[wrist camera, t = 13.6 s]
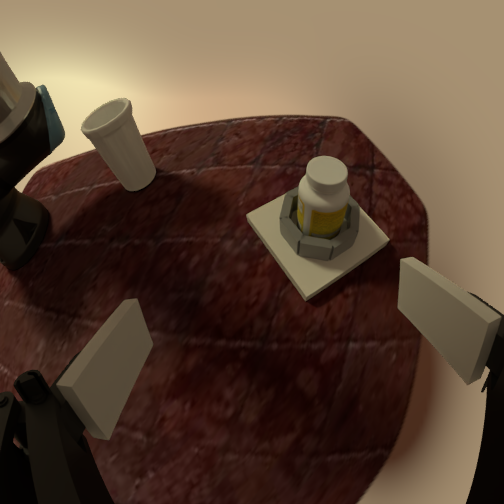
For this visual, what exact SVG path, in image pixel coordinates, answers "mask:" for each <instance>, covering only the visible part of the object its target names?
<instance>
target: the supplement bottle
mask: <svg viewBox="0 0 504 504" xmlns="http://www.w3.org/2000/svg"><path fill="white" fill-rule="evenodd" d="M347 175H348V171H347V168H346V166H345V165H344V164H343V163H342V162H341V161H340V160H338V159H336V158H333V157H329V156H319V157H316V158H314V159H312V160H311V161H310V162H309V163H308V165H307V170H306V175H305V176H304V177H303V178H302V179H301V181H300V184H299V189H298V211H297V228H298V229H299V230H300V231H301V232H302V234H303V235H304V236H310V237H316V238H322V239H327V240H331V239H333V238H335V237H336V236H338V235H339V232H340V230H341V227H342V223H343V220H344V216H345V212H346V209H347V205H348V201H349V196H350V189H349V186H348V184H347V182H346V181H347Z"/></svg>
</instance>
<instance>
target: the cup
mask: <svg viewBox="0 0 504 504" xmlns="http://www.w3.org/2000/svg"><path fill="white" fill-rule="evenodd" d="M81 130H82V132H83V134H84V135H85V136H86V137H87V138H88V139H90V141H91V142H92V144H93V145H94V146H95V148H96V149H97V151H98V152H99V154H100V155H101V156H102V158H103V159H104V161H105V162H106V163H107V165H108V166H109V167H110V169H111V170H112V172H113V173H114V174H115V176H116V177H117V178H118V180H119V181H120V182H121V184H122V185H123V186H124V188H125V189H126V190H129V191H137V190H140V189H142V188H144V187H145V186H147V185H148V184H150V182H151V181H152V180H153V179H154V177H155V174H156V168H155V167H154V165H153V162H152V160H151V158H150V156H149V154H148V151H147V149H146V147H145V144H144V142H143V140H142V137H141V135H140V133H139V130H138V128H137V126H136V123H135V121H134V118H133V116H132V105H131V102H130V101H129V100H128V99H126V98H118V99H115V100H112V101H109V102H107V103H105V104H103V105H102V106H100V107H99V108H97V109H96V110H94V111H93V112H92V113H91V114H90V115H89V116H88V117H87V118H86V119H85V121H84V122H83V124H82V127H81Z"/></svg>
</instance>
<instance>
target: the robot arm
mask: <svg viewBox="0 0 504 504" xmlns="http://www.w3.org/2000/svg"><path fill="white" fill-rule="evenodd" d="M64 138H65V131H64V128H63V126H62V123H61V121H60V119H59V116H58V114H57V112H56V110H55V107H54V105H53V103H52V100H51V98H50V95H49V93H48V91H47V88H46V87H45V86H44V85H41V86H38V87H37V88H35V87H34V85H33V84H31V83H30V82H21V83H19V81H18V80H17V78H16V77H15V75H14V73H13V72H12V70H11V69H10V67H9V66H8V64H7V62H6V61H5V59H4V58H3V56H2V54H1V52H0V262H1V263H2V264H3V265H4V266H5V267H7V268H8V269H10V270H16V269H19V268H20V267H22V266H23V265H24V264H26V263H27V262H28V261H29V259H30V258H31V257H32V256H33V255H34V253H35V252H36V250H37V249H38V247H39V245H40V243H41V241H42V239H43V237H44V235H45V232H46V229H47V225H48V211H47V209H46V208H45V207H44V205H43V204H42V203H41V202H39V201H38V200H35V199H33V198H31V197H29V196H27V195H25V194H23V193H20V192H19V191H18V190H17V189H16V188H15V186H16V185H17V183H19V182H20V181H21V180H22V179H23V178H24V177H25V176H26V175H27V174H28V173H29V172H30V171H31V170H32V169H33V168H35V167H36V166H37V165H38V164H39V163H40V162H41V161H43V160H44V159H45V158H46V157H47V156H48V155H50V154H51V153H52V151H53V150H54V149H55V148H56V147H57V146H59V145H60V144H61V143H62V142H63V140H64ZM398 309H399V310H400V311H401V312H402V313H403V314H404V315H405V316H406V317H407V318H408V319H409V320H410V321H411V322H412V323H413V324H414V325H415V327H416V328H417V329H418V330H419V331H420V332H421V333H422V334H423V335H424V336H425V337H426V338H427V340H428V341H430V343H431V344H432V345H433V346H434V347H435V348H436V349H437V350H438V352H439V353H440V354H441V355H442V356H443V357H444V358H445V360H446V361H447V362H448V363H449V364H450V365H451V366H452V368H453V369H454V370H455V371H456V372H457V373H458V375H459V376H460V377H461V378H462V379H463V381H464V382H465V383H466V384H467V385H469V384H471V383H472V382H474V381H476V380H478V379H480V378H481V376H482V374H483V371H484V369H485V366H487V367H488V368H489V369H490V372H489V374H488V377H487V379H486V381H485V383H484V386H483V388H482V391H481V392H484V390H485V388H486V387H487V398H486V410H485V420H484V428H483V435H482V441H481V447H480V452H479V457H478V462H477V467H476V471H475V474H474V478H473V482H472V486H471V490H470V493H469V496H468V499H467V502H466V504H504V315H503V314H502V313H500V312H499V311H498V310H496V309H495V308H493V307H492V306H491V305H488V303H486V302H485V301H483V300H482V299H481V298H479V297H478V296H476V295H474V294H472V293H469V292H467V291H465V290H464V289H462V288H461V287H459V286H458V285H456V284H454V283H453V282H451V281H450V280H448V279H447V278H445V277H444V276H442V275H441V274H439V273H438V272H436V271H435V270H433V269H431V268H430V267H428V266H427V265H425V264H423V263H422V262H420V261H418V260H417V259H415V258H414V257H409V258H404V259H400V282H399V297H398ZM152 346H153V342H152V339H151V337H150V334H149V331H148V328H147V326H146V323H145V320H144V317H143V314H142V311H141V308H140V305H139V302H138V299H128V300H124V301H123V302H122V303H121V304H120V306H119V307H118V308H117V309H116V310H115V311H114V313H113V314H112V315H111V316H110V317H109V318H108V320H107V321H106V322H105V323H104V324H103V326H102V327H101V328H100V329H99V330H98V332H97V333H96V334H95V335H94V336H93V338H92V339H91V340H90V341H89V343H88V344H87V345H86V346H85V348H84V349H83V350H82V351H80V352H79V353H78V354H76V355H75V356H74V357H73V359H72V360H71V361H70V362H69V364H68V365H67V366H66V367H65V370H63V371H62V373H61V374H60V375H59V376H58V378H57V379H56V380H55V382H54V383H53V384H52V386H51V387H50V388H49V386H48V384H47V383H46V381H45V380H44V378H43V376H42V374H41V373H40V372H39V371H38V370H30V371H27V372H25V373H23V374H21V375H20V376H19V377H18V378H17V379H16V380H15V382H14V385H13V386H14V387H15V389H16V390H17V392H18V393H19V395H20V396H21V398H22V399H23V401H17V399H16V398H15V396H14V395H13V393H11V392H3V393H0V504H114V502H113V500H112V498H111V496H110V494H109V492H108V490H107V488H106V486H105V484H104V481H103V479H102V477H101V475H100V472H99V470H98V468H97V465H96V463H95V460H94V458H93V455H92V453H91V450H90V447H89V445H88V442H87V439H86V438H85V436H84V435H83V434H82V433H83V431H84V429H85V428H86V429H87V430H88V431H89V433H90V434H91V435H92V436H93V437H94V438H99V439H105V440H109V439H110V437H111V434H112V432H113V430H114V427H115V425H116V423H117V421H118V418H119V416H120V414H121V412H122V409H123V407H124V405H125V403H126V401H127V399H128V396H129V394H130V392H131V390H132V388H133V386H134V383H135V381H136V379H137V377H138V375H139V373H140V371H141V369H142V367H143V365H144V363H145V361H146V359H147V356H148V354H149V352H150V350H151V348H152ZM14 437H15V438H16V440H17V441H18V442H19V443H20V448H18V447H17V446H16V445H15V444H14V443H13V438H14Z"/></svg>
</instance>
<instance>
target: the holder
mask: <svg viewBox="0 0 504 504" xmlns="http://www.w3.org/2000/svg"><path fill="white" fill-rule="evenodd" d="M298 189H299V187H297V188H295V189H293V190H291V191H289V192H287V193H286V194H284V195H282V196H281V197H279V198H277V199H275V200H273V201H271V202H269V203H267V204H265V205H263V206H262V207H260V208H258V209H256V210H254V211H252V212H250V213H248V214H247V215H246V216H247V221H248V223H249V224H250V225H251V227H252V228H253V229H254V231H255V232H256V233H257V235H258V236H259V238H260V239H261V240H262V242H263V243H264V244H265V246H266V247H267V249H268V250H269V251H270V253H271V254H272V255H273V257H274V258H275V260H276V261H277V262H278V264H279V265H280V266H281V268H282V269H283V271H284V272H285V273H286V275H287V276H288V278H289V279H290V280H291V282H292V283H293V285H294V286H295V287H296V289H297V290H298V292H299V293H300V294H301V296H302V297H303V299H304V300H305V301H307V300H308V299H310V298H311V297H313V296H314V295H316V294H318V293H319V292H321V291H322V290H324V289H325V288H327V287H328V286H329V285H331V284H332V283H334V282H335V281H337V280H338V279H340V278H341V277H343V276H344V275H346V274H347V273H348V272H350V271H351V270H353V269H354V268H356V267H357V266H358V265H360V264H361V263H363V262H364V261H365V260H367V259H368V258H370V257H371V256H372V255H374V254H375V253H376V252H378V251H379V250H380V249H382V248H383V247H384V246H386V245H387V243H388V241H389V238H388V237H387V236H386V235H385V234H384V233H383V231H382V230H381V229H380V228H379V227H378V226H377V225H376V224H375V223H374V222H373V220H372V219H371V218H370V217H369V216H368V215H367V214H366V213H365V212H364V211H363V210H362V209H361V208H360V207H359V204H358V203H357V202H356V201H355V200H354V199H353V198H352V197H351V196H349V201H348V205H347V209H346V212H345V216H344V220H343V223H342V227H341V230H340V232H339V235H338V236H336V237H335V238H333V239H331V240H327V239H322V238H316V237H310V236H304V235H303V234H302V232H301V231H300V230H299V229H298V228H297V211H298Z"/></svg>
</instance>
